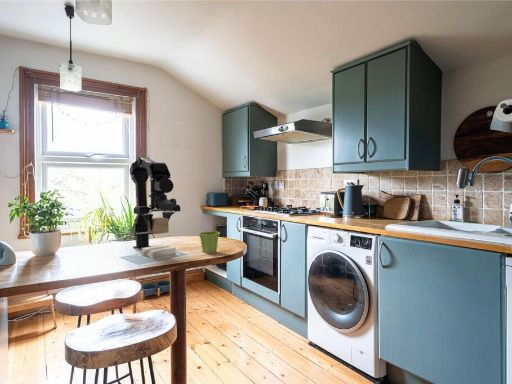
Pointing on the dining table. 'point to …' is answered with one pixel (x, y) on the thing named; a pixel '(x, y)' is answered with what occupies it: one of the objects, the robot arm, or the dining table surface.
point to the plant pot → (209, 241)
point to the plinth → (158, 251)
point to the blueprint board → (143, 259)
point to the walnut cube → (159, 225)
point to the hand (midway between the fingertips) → (158, 229)
